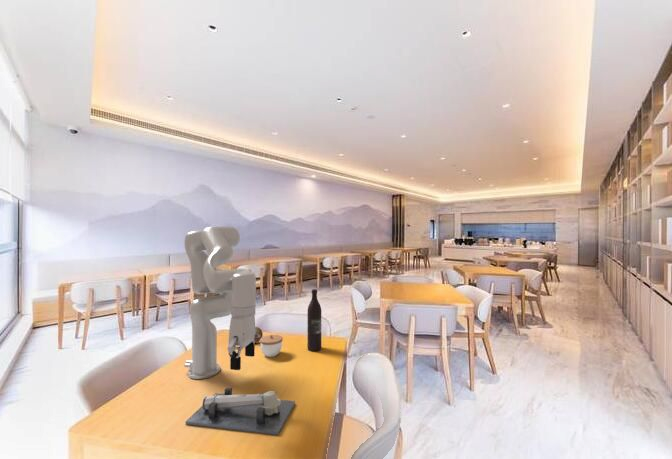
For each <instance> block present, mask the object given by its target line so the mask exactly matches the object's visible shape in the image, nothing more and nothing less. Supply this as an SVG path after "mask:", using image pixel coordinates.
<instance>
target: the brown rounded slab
mask: <svg viewBox="0 0 672 459" xmlns="http://www.w3.org/2000/svg"><path fill="white" fill-rule="evenodd" d="M255 328H256V334H255V335H256V337H255V343H256V344H258V343H259V342H260V339H261V338H262V337H264V336H263V334H264V333H263V331H262V329H261V328H260V327H258V326H255Z"/></svg>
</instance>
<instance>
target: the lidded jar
mask: <svg viewBox="0 0 672 459" xmlns="http://www.w3.org/2000/svg"><path fill="white" fill-rule="evenodd" d="M259 342H260V350H261V353H262V354H263V355H264V356H265V357H266V358H275V357H276V356H278V355H279V353H280V352H281V350H282V348H283V336H282V335H279V334H267V335H264V336H262V338H261V339H260V341H259Z"/></svg>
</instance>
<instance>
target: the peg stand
mask: <svg viewBox="0 0 672 459" xmlns="http://www.w3.org/2000/svg"><path fill="white" fill-rule="evenodd" d="M275 393H276V394H277V392H276V391H275ZM216 394H217V395H233V387H225V389H224V392H223V393H214V394H213V395H212V396H215V395H216ZM280 400H281V404H280V411H279V412H278V413H273V414H272V415H267V414H265V408H261V405H253V406H243V407H234V408H224V409H217V403H213V402H211V403H210V404H209V410H204V409H203V406H202V405H201V406H200V407H199V408H198V409H197V410H196V411H195V412H194V413H193V414H192V415H191V416H189V418H187V419H186V420H185V425H186V426H187V425H188V426H195V427H202V428H211V429H220V430H226V431H228V430H229V431H238V432H246V433H251V434H252V433H254V434H262V435H269V436H270V435H271V436H277V437H278V436H280V433H281V432H282V430H283V428H284V426H285V424H286V422H287V420H288V419H289V417H290V415H291V413H292V410H293V409H294V407H295V405H296V401H295V400H286V399H280Z"/></svg>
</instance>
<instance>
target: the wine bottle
mask: <svg viewBox="0 0 672 459" xmlns="http://www.w3.org/2000/svg"><path fill="white" fill-rule="evenodd" d="M321 349H322V306H321V304H320V301H319V300H318V289H315V288H313V289H312V290H311V301H310V302H309V304H308V306H307V350H308V351H310V352H319V351H321Z"/></svg>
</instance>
